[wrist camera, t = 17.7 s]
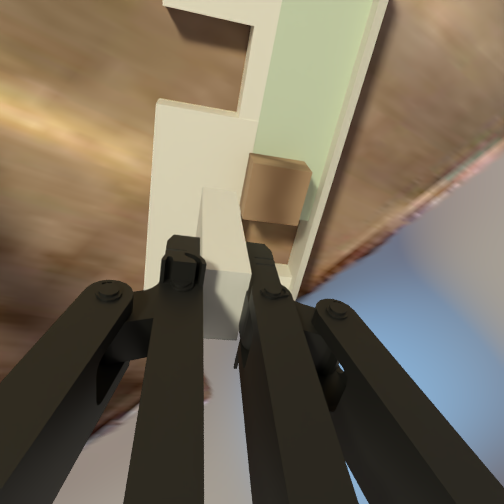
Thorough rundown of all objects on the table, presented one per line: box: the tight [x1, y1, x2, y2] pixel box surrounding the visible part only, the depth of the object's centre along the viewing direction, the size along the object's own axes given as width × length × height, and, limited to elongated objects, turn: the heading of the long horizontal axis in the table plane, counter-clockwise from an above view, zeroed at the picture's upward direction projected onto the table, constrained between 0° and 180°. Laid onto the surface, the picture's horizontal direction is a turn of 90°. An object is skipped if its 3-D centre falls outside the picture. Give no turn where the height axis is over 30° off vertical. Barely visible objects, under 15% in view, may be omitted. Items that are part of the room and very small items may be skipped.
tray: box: [144, 0, 389, 301], centre depth 41 cm, size 19×41×4 cm, turn 169°
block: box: [239, 153, 313, 226], centre depth 41 cm, size 6×6×4 cm
